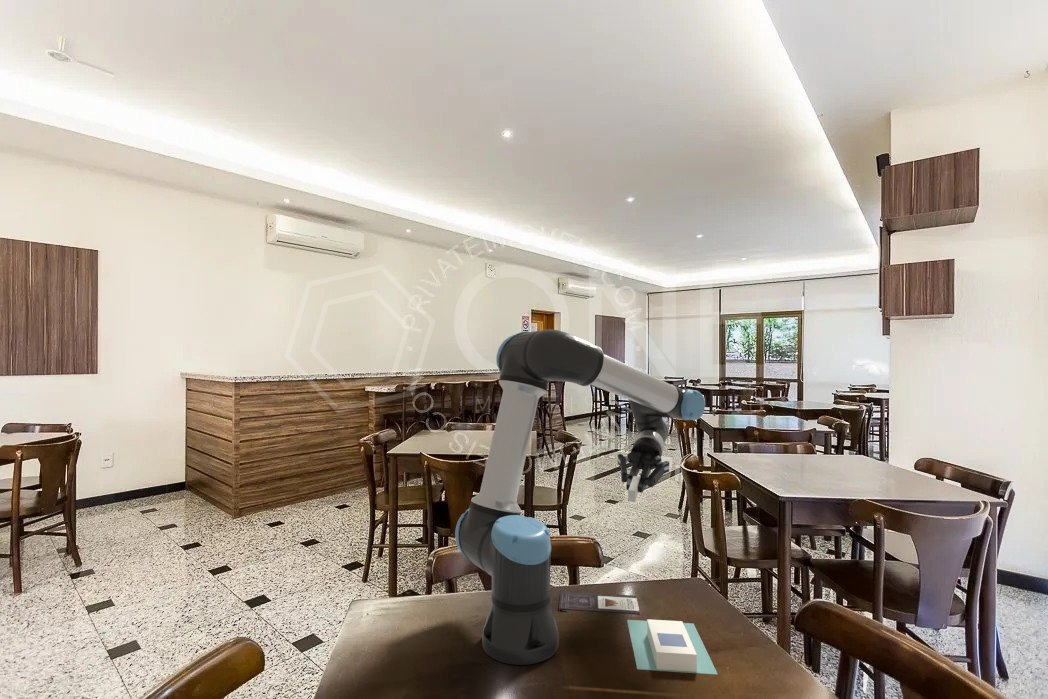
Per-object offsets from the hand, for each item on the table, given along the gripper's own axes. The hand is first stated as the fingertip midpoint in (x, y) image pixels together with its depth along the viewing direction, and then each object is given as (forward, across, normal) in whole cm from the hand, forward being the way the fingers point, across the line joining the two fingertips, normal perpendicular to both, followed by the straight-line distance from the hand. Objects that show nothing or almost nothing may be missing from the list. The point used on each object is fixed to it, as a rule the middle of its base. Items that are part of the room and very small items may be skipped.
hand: (631, 496), depth 108 cm
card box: (+12, -9, -22) cm, 26 cm away
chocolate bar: (+4, +6, -28) cm, 29 cm away
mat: (+15, -10, -22) cm, 29 cm away
